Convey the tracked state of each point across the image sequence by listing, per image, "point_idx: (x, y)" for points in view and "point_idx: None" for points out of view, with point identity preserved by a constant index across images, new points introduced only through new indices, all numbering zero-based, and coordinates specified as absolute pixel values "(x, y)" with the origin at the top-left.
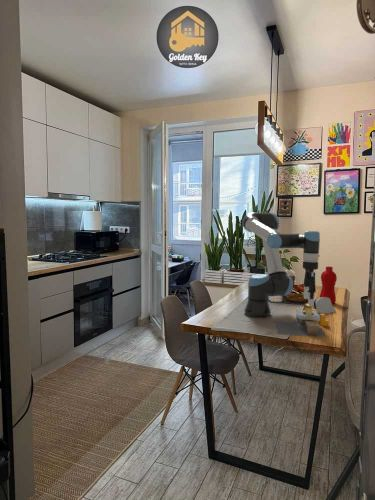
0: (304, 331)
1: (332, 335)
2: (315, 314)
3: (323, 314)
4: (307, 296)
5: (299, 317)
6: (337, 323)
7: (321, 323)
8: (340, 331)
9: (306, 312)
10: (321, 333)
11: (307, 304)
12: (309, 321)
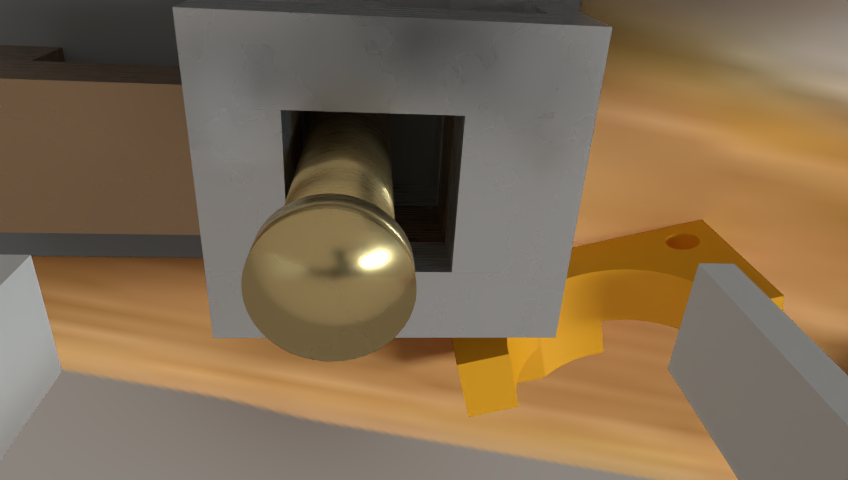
0: (126, 39)
1: (142, 328)
2: None
3: (489, 396)
4: (704, 379)
5: (183, 2)
6: (579, 444)
7: None
8: (311, 419)
9: (308, 171)
10: (124, 234)
11: (318, 259)
12: (154, 153)
